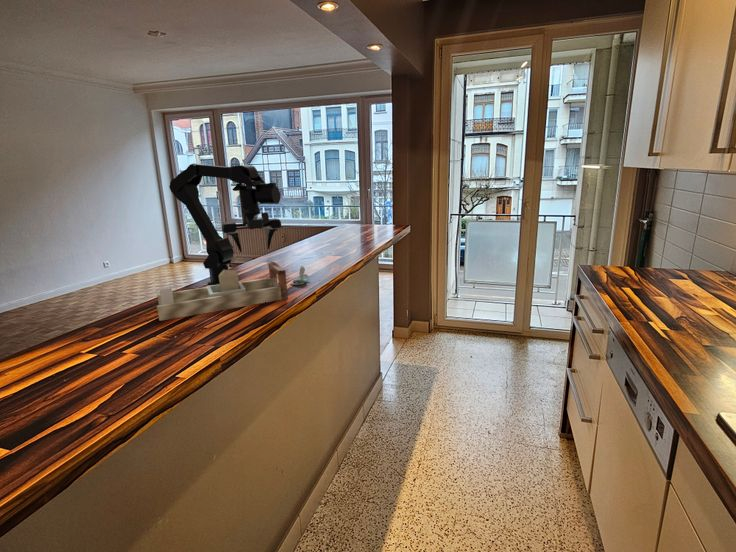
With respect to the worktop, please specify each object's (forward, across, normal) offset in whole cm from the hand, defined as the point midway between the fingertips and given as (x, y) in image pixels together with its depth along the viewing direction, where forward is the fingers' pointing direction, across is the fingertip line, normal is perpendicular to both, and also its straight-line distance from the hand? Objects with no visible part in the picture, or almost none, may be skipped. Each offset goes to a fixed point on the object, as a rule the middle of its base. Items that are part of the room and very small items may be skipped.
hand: (254, 250), depth 139 cm
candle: (+12, -11, -15) cm, 22 cm away
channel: (+12, -13, -15) cm, 23 cm away
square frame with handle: (+12, -19, -15) cm, 27 cm away
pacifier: (+12, +13, -7) cm, 19 cm away
